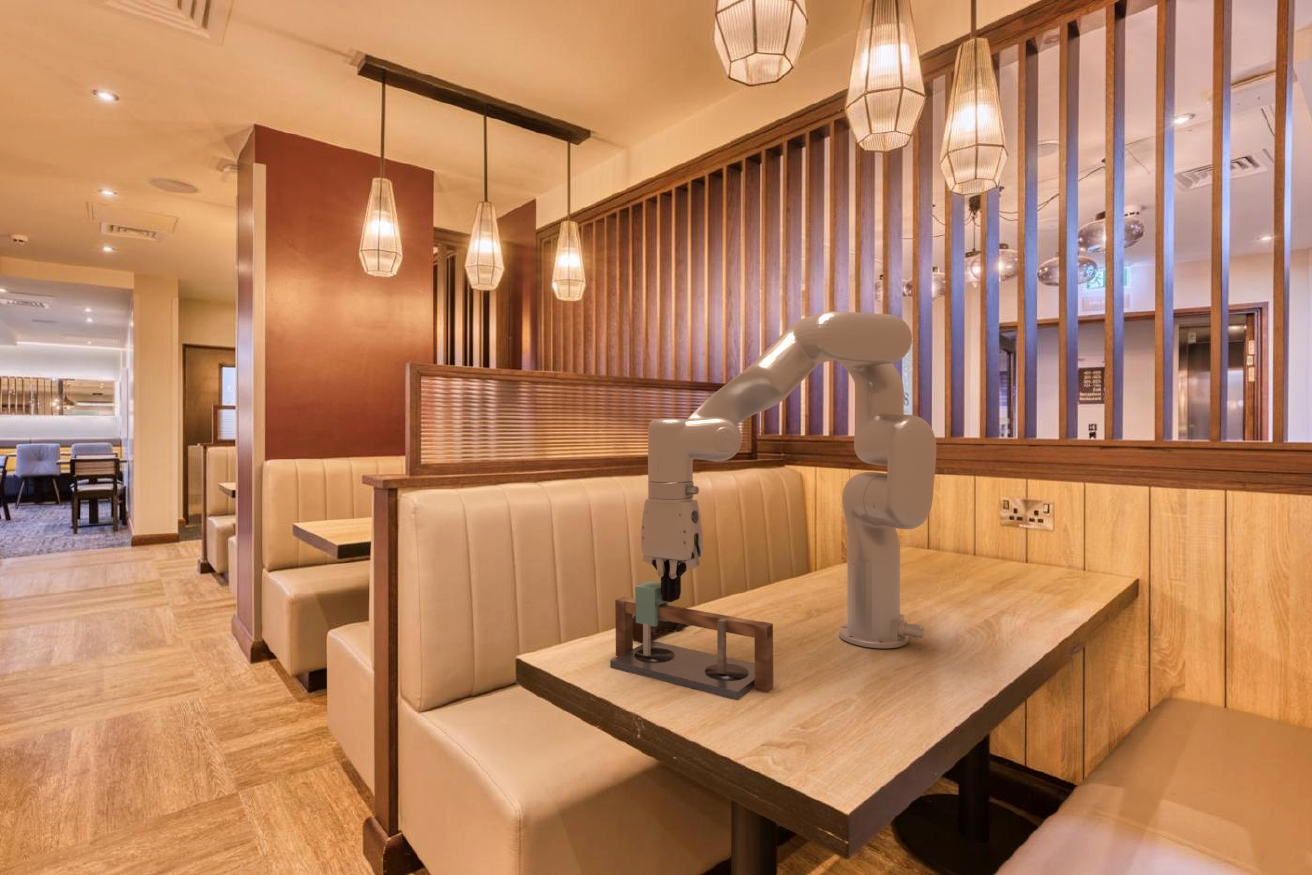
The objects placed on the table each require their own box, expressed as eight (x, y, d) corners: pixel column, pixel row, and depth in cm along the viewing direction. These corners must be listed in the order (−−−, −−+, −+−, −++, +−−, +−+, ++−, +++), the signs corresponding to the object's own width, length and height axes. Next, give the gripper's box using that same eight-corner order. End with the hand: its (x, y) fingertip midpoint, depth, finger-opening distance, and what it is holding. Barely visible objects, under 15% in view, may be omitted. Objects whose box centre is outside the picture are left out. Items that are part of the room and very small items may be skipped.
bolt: (689, 633, 134) (641, 650, 123) (673, 617, 137) (624, 632, 125) (701, 611, 132) (653, 626, 121) (684, 595, 135) (636, 609, 124)
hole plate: (770, 673, 107) (770, 666, 107) (737, 699, 97) (737, 691, 97) (650, 646, 120) (650, 639, 120) (610, 667, 111) (610, 659, 111)
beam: (773, 687, 102) (772, 623, 101) (764, 694, 99) (764, 629, 99) (623, 651, 118) (623, 596, 118) (612, 657, 115) (612, 600, 115)
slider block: (669, 650, 114) (668, 584, 113) (655, 658, 110) (654, 589, 110) (650, 646, 116) (649, 581, 116) (635, 653, 112) (635, 586, 112)
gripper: (720, 492, 109) (720, 601, 109) (646, 487, 117) (647, 589, 118) (697, 496, 103) (697, 612, 103) (621, 491, 111) (622, 598, 112)
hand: (670, 599), depth 110 cm, fingers closed
